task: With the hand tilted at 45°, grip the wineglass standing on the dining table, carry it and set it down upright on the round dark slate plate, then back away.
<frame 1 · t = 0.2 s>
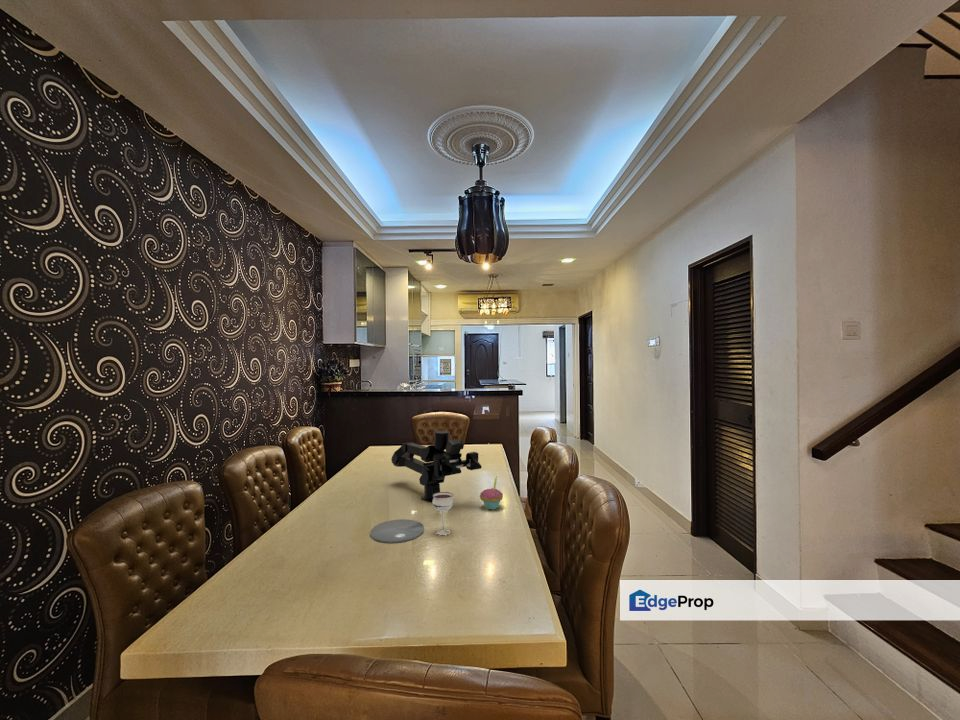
hand: (471, 469, 148), 17 cm above the table, tool horizontal, fingers open, 9 cm apart
wineglass: (443, 533, 134), on the table
cupcake: (491, 508, 156), on the table
slate plate: (397, 531, 135), on the table
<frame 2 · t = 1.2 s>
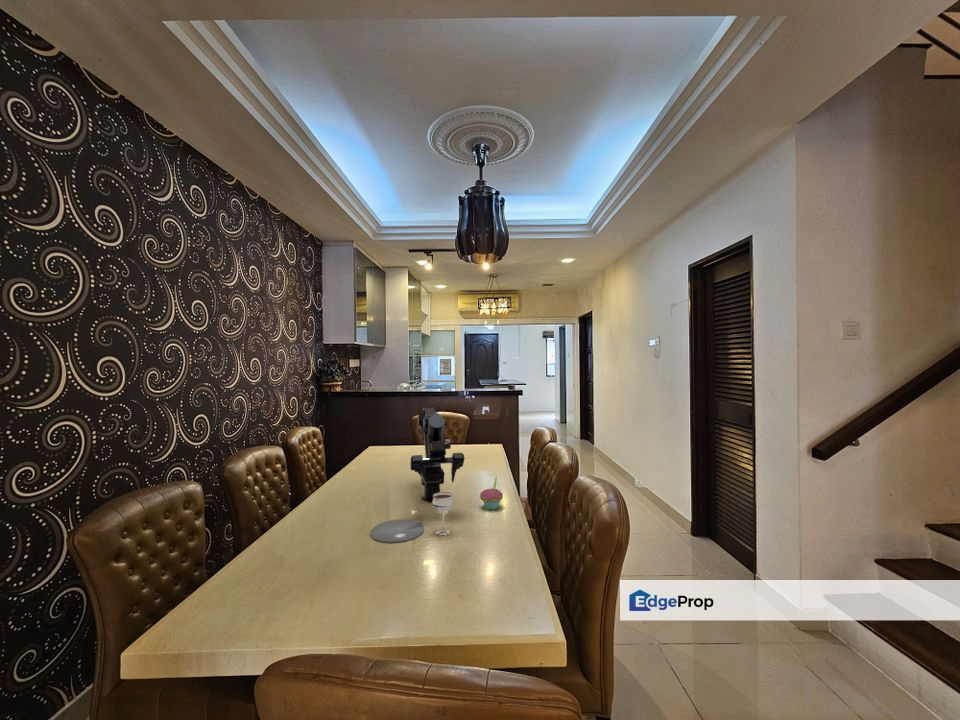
hand: (439, 482, 142), 14 cm above the table, tool tilted 45°, fingers open, 9 cm apart
nothing on the table moved.
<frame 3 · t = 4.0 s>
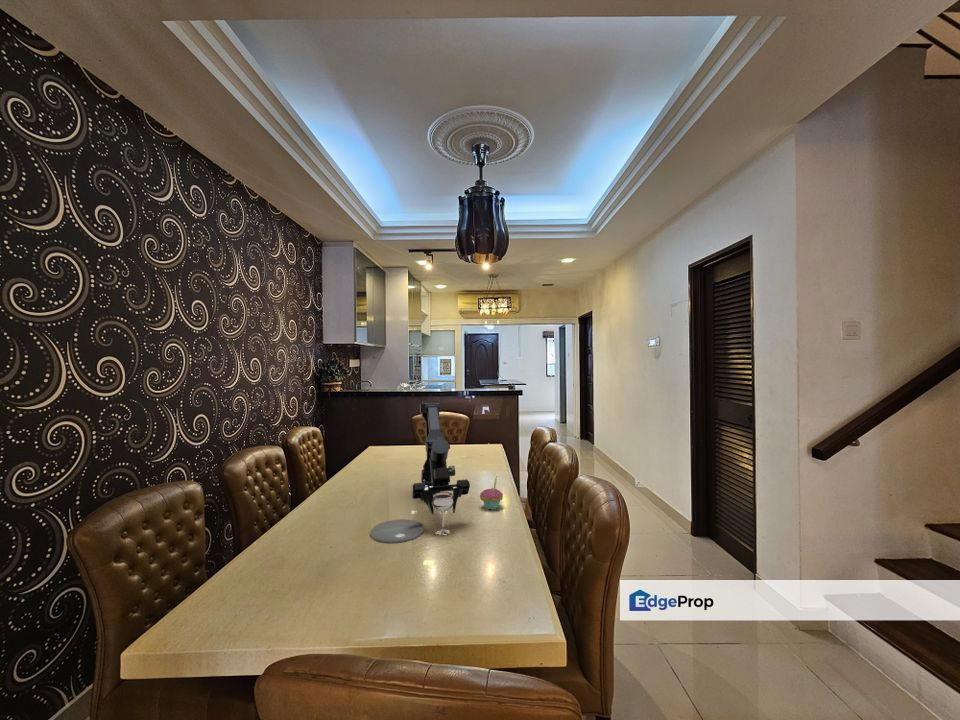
hand: (443, 513, 133), 7 cm above the table, tool tilted 45°, fingers closed on wineglass, 6 cm apart
wineglass: (443, 533, 134), on the table, touching gripper
everything else where it was.
when the fingers open (8 cm above the table, at t = 8.6 s): wineglass stays where it is, resting on slate plate.
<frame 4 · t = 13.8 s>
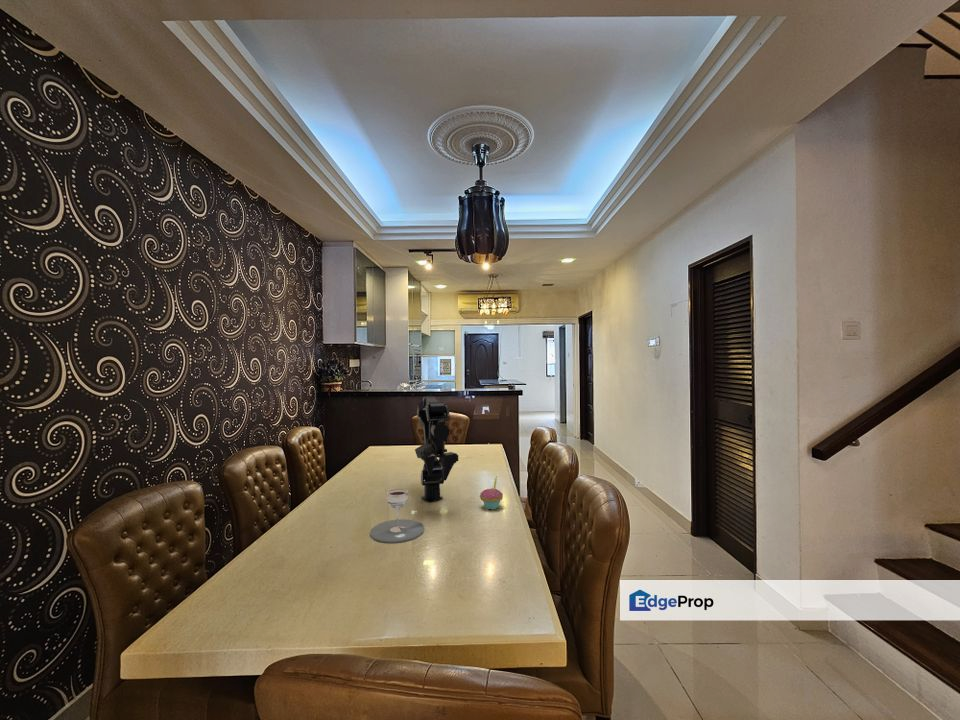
hand: (437, 477, 154), 12 cm above the table, tool pointing down, fingers open, 9 cm apart
wineglass: (397, 529, 135), point 1 cm above the table, touching slate plate
everything else where it was.
at the end: wineglass inside the target area on the slate plate (0.1 cm from its centre), point 0.6 cm above the slate plate's base; wineglass tilted 0°; the gripper is holding nothing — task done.
